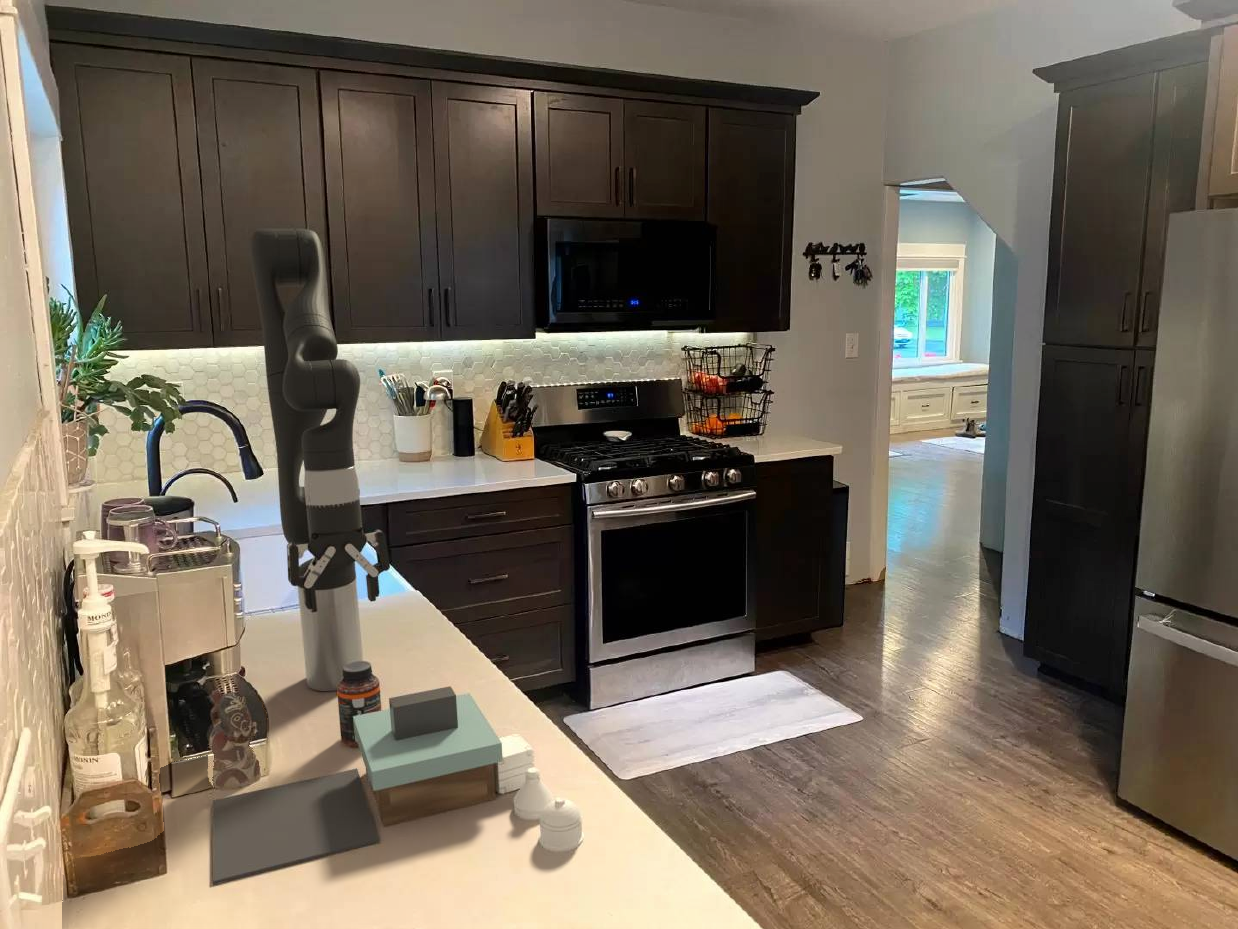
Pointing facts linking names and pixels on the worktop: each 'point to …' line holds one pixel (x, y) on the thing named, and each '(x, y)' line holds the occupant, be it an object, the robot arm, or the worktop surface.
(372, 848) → the worktop surface
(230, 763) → the figurine
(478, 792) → the box
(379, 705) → the supplement bottle
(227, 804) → the mat
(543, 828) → the container set
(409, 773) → the lid
